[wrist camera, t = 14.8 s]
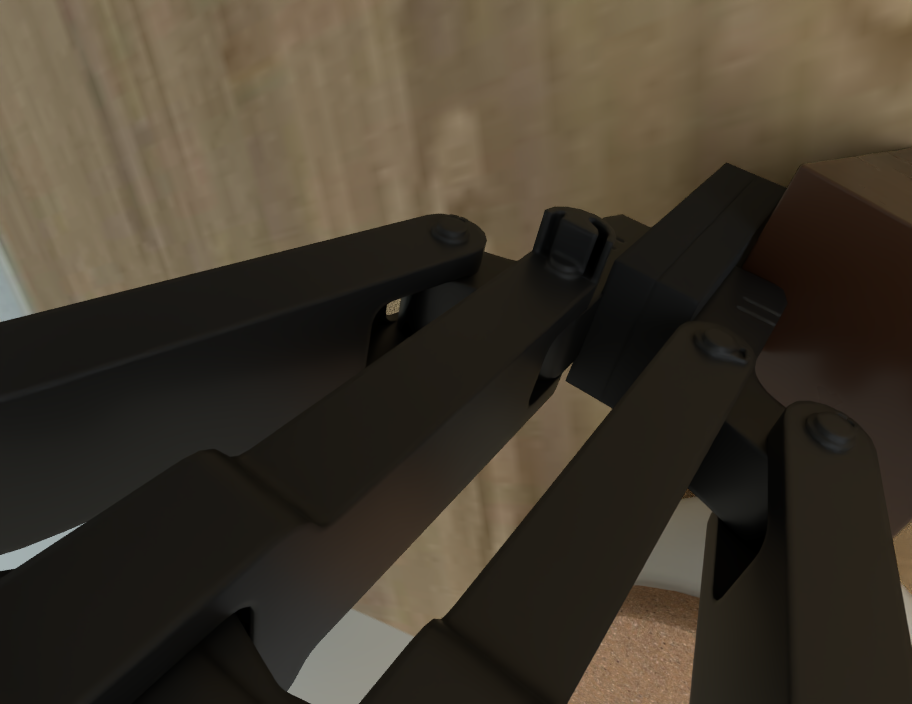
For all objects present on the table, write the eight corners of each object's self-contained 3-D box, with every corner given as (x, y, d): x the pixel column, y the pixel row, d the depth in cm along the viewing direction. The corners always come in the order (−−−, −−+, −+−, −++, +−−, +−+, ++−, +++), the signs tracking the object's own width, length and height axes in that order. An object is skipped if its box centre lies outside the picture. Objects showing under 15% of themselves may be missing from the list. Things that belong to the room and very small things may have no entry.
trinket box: (1055, 519, 16) (1090, 915, 10) (912, 758, 22) (874, 1112, 15) (633, 387, 22) (473, 588, 15) (604, 607, 27) (478, 823, 21)
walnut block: (919, 145, 15) (799, 163, 12) (1185, 272, 12) (1108, 333, 9) (798, 324, 18) (680, 371, 15) (986, 458, 15) (884, 545, 12)
